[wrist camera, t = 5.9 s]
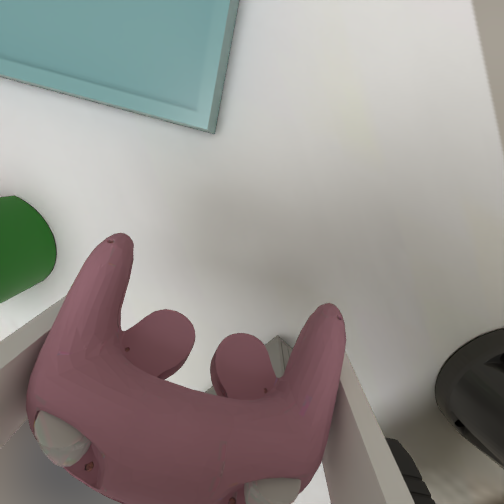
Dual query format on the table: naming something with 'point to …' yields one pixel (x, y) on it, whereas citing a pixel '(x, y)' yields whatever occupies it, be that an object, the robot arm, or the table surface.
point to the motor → (23, 247)
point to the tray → (124, 53)
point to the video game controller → (178, 400)
